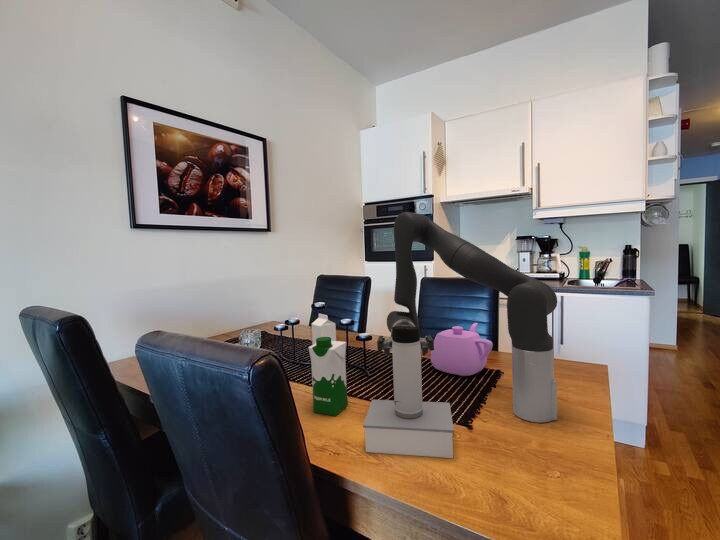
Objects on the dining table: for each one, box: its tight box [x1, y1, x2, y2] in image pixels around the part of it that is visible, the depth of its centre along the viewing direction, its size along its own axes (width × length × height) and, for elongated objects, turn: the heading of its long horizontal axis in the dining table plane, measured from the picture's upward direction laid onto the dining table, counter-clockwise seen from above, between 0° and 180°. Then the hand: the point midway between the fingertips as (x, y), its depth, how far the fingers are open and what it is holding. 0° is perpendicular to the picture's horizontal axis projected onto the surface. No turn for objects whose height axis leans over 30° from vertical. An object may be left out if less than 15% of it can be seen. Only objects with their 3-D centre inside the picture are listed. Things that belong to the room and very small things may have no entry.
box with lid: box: [362, 399, 455, 459], centre depth 77 cm, size 19×13×6 cm
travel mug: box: [391, 326, 423, 419], centre depth 77 cm, size 6×7×20 cm
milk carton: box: [308, 337, 349, 417], centre depth 94 cm, size 9×9×20 cm
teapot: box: [430, 322, 494, 377], centre depth 120 cm, size 23×21×15 cm
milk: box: [311, 313, 337, 345], centre depth 117 cm, size 6×6×22 cm
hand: (406, 351), depth 82 cm, fingers open, 8 cm apart
